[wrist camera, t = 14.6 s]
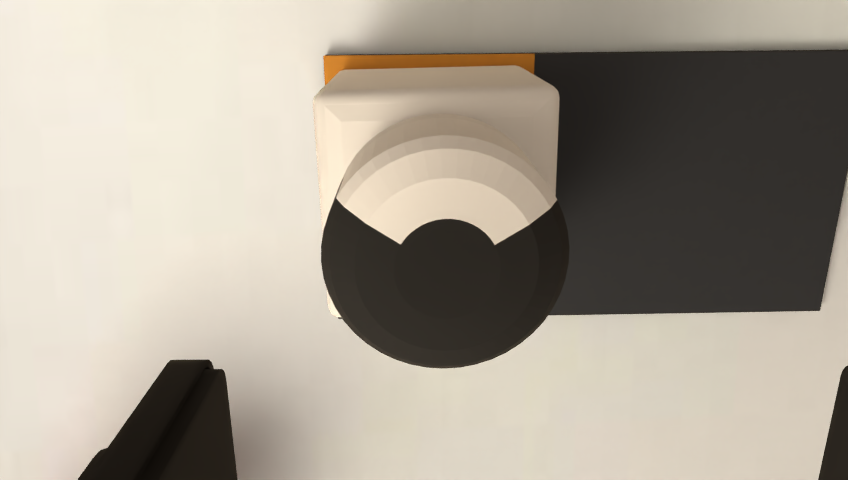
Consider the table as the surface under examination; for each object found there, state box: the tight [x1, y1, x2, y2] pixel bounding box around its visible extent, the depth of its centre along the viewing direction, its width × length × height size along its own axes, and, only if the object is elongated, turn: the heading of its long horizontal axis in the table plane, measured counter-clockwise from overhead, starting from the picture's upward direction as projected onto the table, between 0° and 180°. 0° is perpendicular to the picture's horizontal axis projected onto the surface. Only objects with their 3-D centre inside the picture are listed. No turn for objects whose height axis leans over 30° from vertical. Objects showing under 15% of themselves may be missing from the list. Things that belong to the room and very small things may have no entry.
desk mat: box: [324, 50, 848, 319], centre depth 28 cm, size 21×11×1 cm, turn 90°
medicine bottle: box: [313, 65, 569, 368], centre depth 22 cm, size 7×7×12 cm
